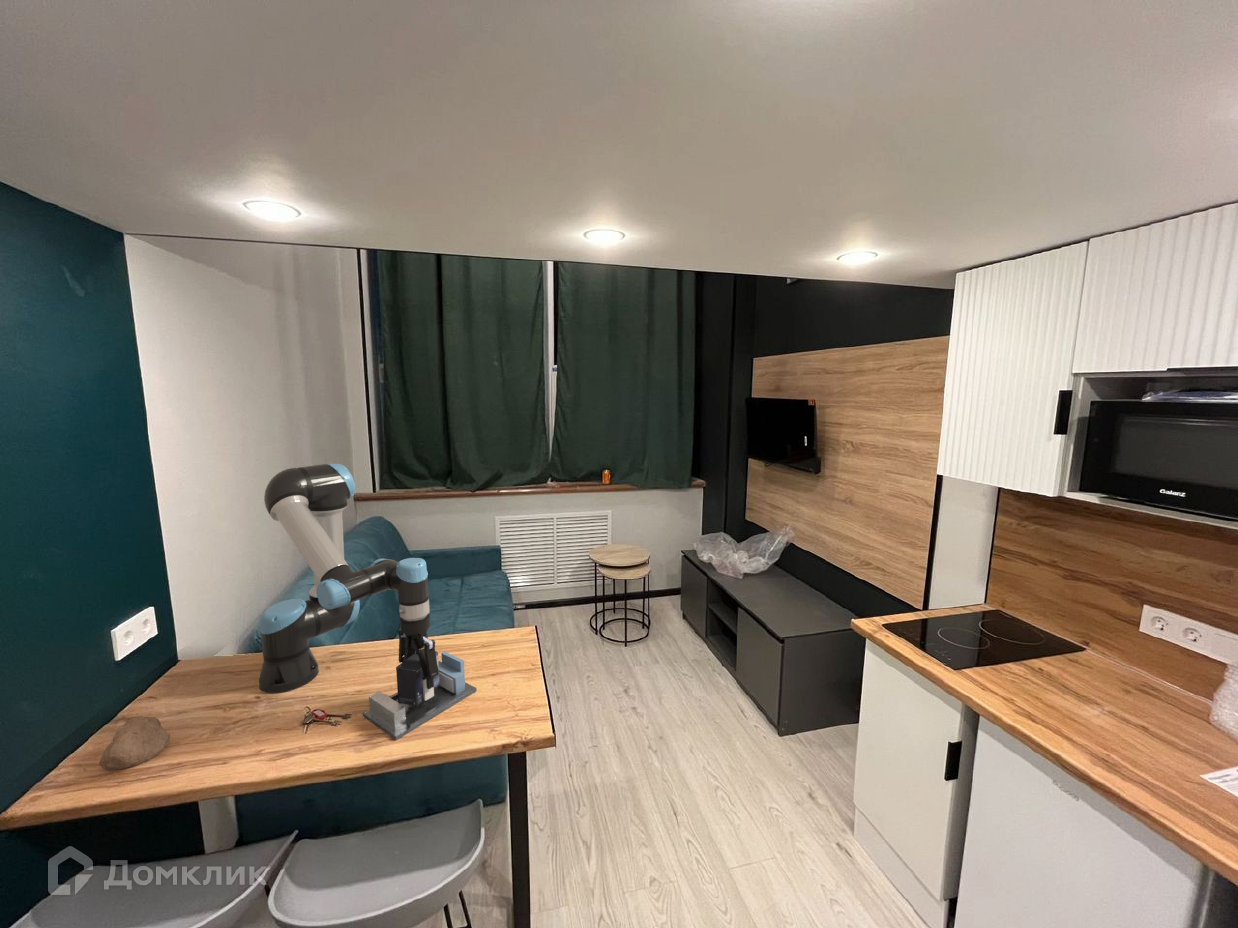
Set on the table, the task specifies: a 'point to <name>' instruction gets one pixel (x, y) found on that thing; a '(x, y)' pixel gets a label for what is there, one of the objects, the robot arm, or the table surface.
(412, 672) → the small box
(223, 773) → the table surface
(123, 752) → the stone
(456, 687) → the sliding jaw
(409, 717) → the vise
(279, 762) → the table surface
